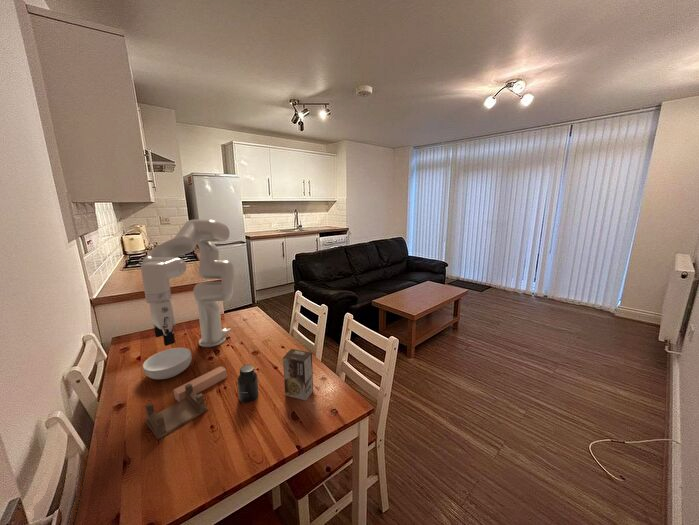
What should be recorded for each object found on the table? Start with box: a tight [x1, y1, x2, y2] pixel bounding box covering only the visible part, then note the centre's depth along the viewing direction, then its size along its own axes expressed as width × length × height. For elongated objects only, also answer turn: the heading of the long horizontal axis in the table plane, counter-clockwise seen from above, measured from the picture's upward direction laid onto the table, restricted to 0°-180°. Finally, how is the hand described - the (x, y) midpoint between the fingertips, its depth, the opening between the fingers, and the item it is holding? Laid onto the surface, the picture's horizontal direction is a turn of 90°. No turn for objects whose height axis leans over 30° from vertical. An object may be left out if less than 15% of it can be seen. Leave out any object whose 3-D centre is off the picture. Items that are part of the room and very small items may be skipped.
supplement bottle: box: [237, 364, 259, 404], centre depth 100 cm, size 7×7×12 cm
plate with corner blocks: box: [144, 384, 209, 440], centre depth 91 cm, size 15×11×6 cm
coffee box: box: [282, 348, 314, 401], centre depth 101 cm, size 9×6×16 cm
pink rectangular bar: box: [173, 365, 228, 403], centre depth 106 cm, size 18×4×4 cm, turn 144°
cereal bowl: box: [142, 347, 192, 380], centre depth 114 cm, size 17×17×7 cm
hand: (165, 340), depth 101 cm, fingers open, 9 cm apart
